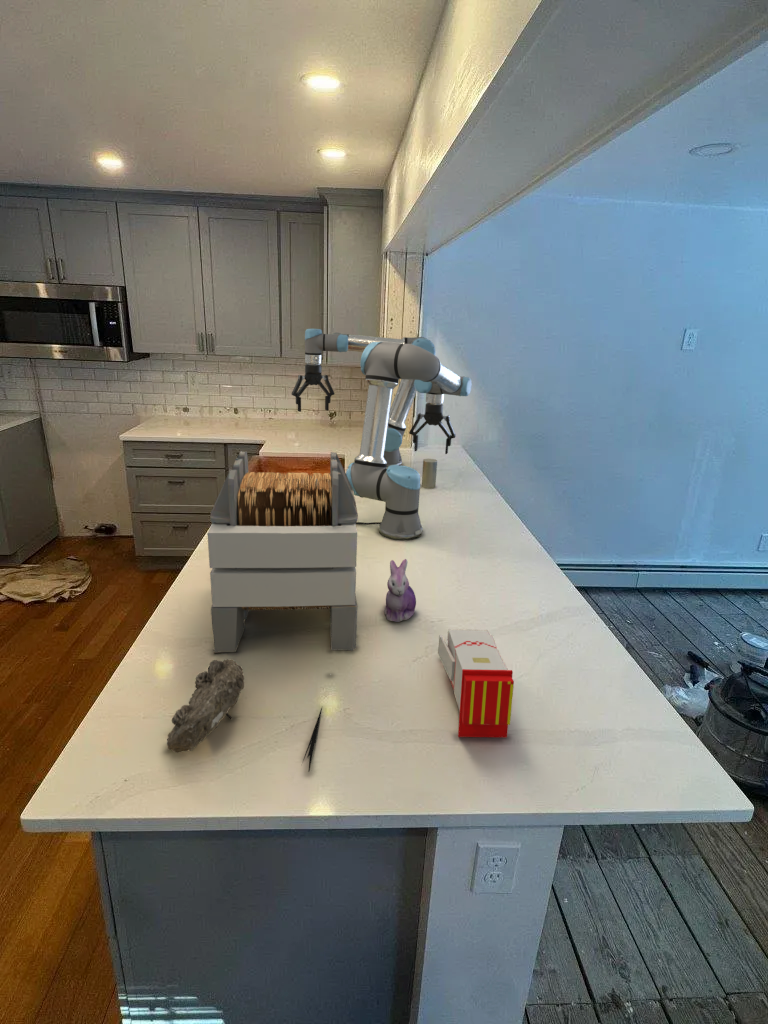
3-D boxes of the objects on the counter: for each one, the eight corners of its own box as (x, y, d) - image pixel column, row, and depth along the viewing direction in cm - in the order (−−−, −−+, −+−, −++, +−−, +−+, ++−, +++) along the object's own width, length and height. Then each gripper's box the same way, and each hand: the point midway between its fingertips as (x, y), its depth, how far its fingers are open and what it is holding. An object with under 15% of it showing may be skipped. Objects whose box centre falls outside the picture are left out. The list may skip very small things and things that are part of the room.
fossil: (192, 660, 117) (244, 628, 112) (224, 691, 120) (276, 661, 115) (142, 746, 98) (202, 712, 93) (182, 779, 101) (242, 748, 96)
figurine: (392, 627, 141) (395, 572, 136) (374, 608, 149) (376, 556, 144) (425, 619, 145) (429, 566, 140) (405, 601, 154) (408, 550, 149)
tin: (420, 488, 252) (422, 461, 248) (422, 484, 258) (424, 458, 254) (434, 489, 251) (436, 462, 247) (435, 485, 257) (437, 459, 253)
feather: (331, 679, 122) (336, 673, 122) (307, 777, 96) (313, 769, 95) (324, 675, 122) (329, 669, 121) (298, 772, 95) (304, 764, 95)
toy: (488, 613, 130) (523, 677, 101) (484, 667, 133) (517, 744, 104) (435, 612, 130) (455, 676, 101) (432, 666, 133) (451, 743, 103)
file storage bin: (232, 584, 158) (225, 442, 144) (349, 583, 162) (353, 444, 148) (211, 655, 127) (198, 480, 113) (357, 651, 130) (362, 482, 117)
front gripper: (464, 404, 243) (460, 452, 250) (407, 399, 248) (405, 447, 256) (462, 407, 236) (458, 456, 243) (404, 402, 241) (401, 451, 249)
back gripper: (289, 365, 250) (290, 413, 257) (341, 364, 261) (340, 411, 268) (284, 363, 256) (285, 410, 264) (335, 363, 267) (335, 408, 274)
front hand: (431, 451), depth 249 cm, fingers open, 13 cm apart
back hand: (313, 410), depth 266 cm, fingers open, 13 cm apart
